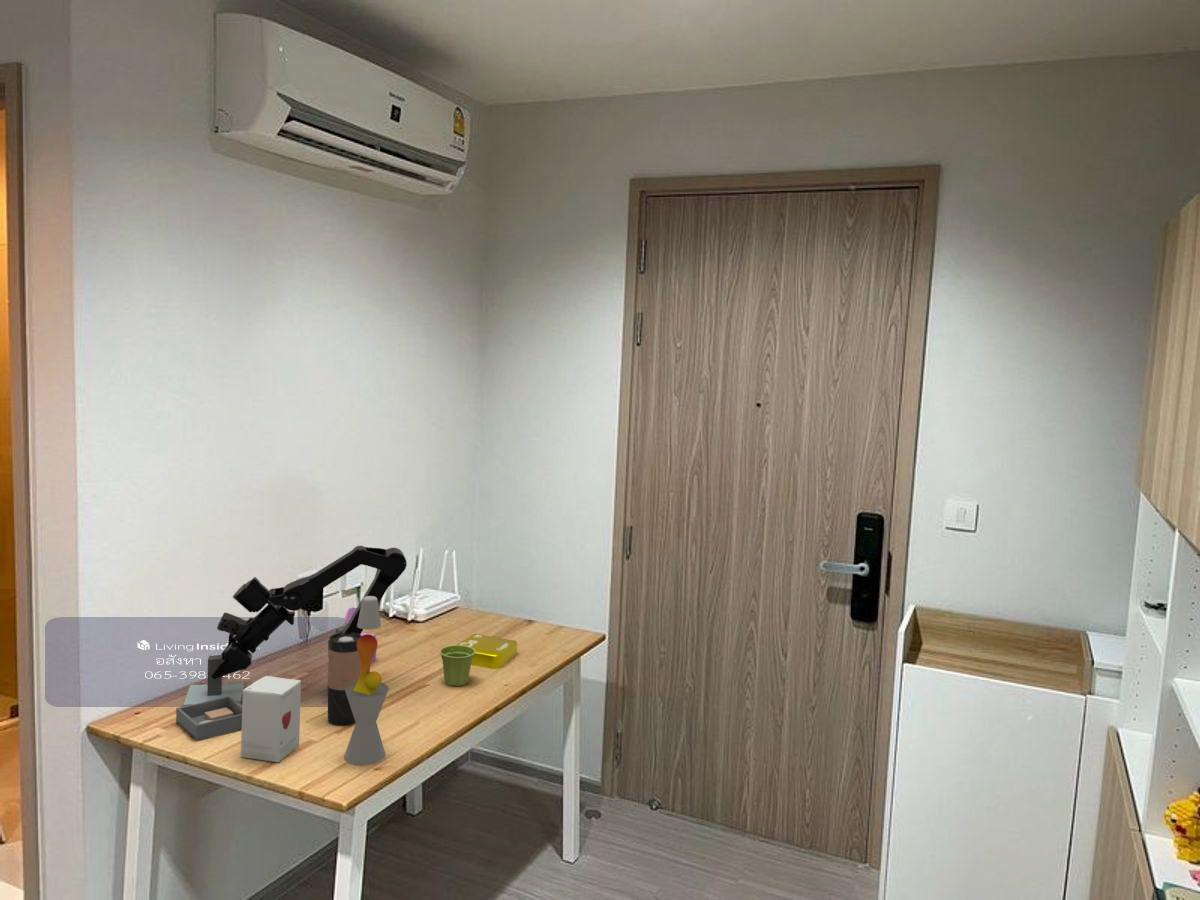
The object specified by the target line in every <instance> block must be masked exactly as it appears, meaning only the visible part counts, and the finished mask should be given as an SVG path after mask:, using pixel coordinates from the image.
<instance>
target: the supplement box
mask: <svg viewBox="0 0 1200 900" xmlns="http://www.w3.org/2000/svg"><path fill="white" fill-rule="evenodd" d="M301 690H302V680H300V679H292V678H285V677H284V678H283V677H277V676H270V675H265V676H263V677H261V678H260V679H258V680H256V681H254V682H253V683H251V684H250V685H249V686H247V687H246V688H245V687H244V689H243V694H242V699H241V705H242V730H241V735H240V736H241V740H240V757H241V758H247V759H253V760H257V761H265V762H266V761H267V762H272V763H273V762H274V763H276V764H277V763H280V762H281V761H282V760H283V759H285V758H286V757H287V756H288V755H289V754H291V753H292V752H293V751H295V750H296V749H297V748H299V746H300V727H301V726H300V724H301V723H300V721H301V695H302V694H301V693H302V692H301Z"/></svg>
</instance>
